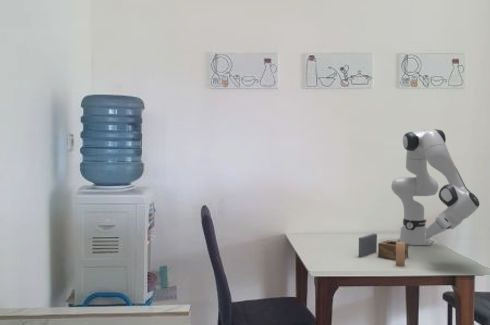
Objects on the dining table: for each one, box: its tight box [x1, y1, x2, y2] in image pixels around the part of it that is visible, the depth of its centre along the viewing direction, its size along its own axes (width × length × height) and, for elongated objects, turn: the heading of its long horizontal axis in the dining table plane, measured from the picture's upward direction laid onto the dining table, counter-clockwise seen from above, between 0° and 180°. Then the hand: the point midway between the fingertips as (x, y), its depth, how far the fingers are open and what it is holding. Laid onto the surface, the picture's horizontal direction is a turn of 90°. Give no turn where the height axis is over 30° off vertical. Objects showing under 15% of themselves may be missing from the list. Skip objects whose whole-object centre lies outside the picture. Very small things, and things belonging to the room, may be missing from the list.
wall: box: [358, 233, 378, 258], centre depth 227 cm, size 16×2×10 cm, turn 137°
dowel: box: [395, 241, 406, 267], centre depth 207 cm, size 4×4×11 cm
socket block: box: [377, 239, 409, 261], centre depth 222 cm, size 11×11×7 cm
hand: (427, 237), depth 213 cm, fingers closed
